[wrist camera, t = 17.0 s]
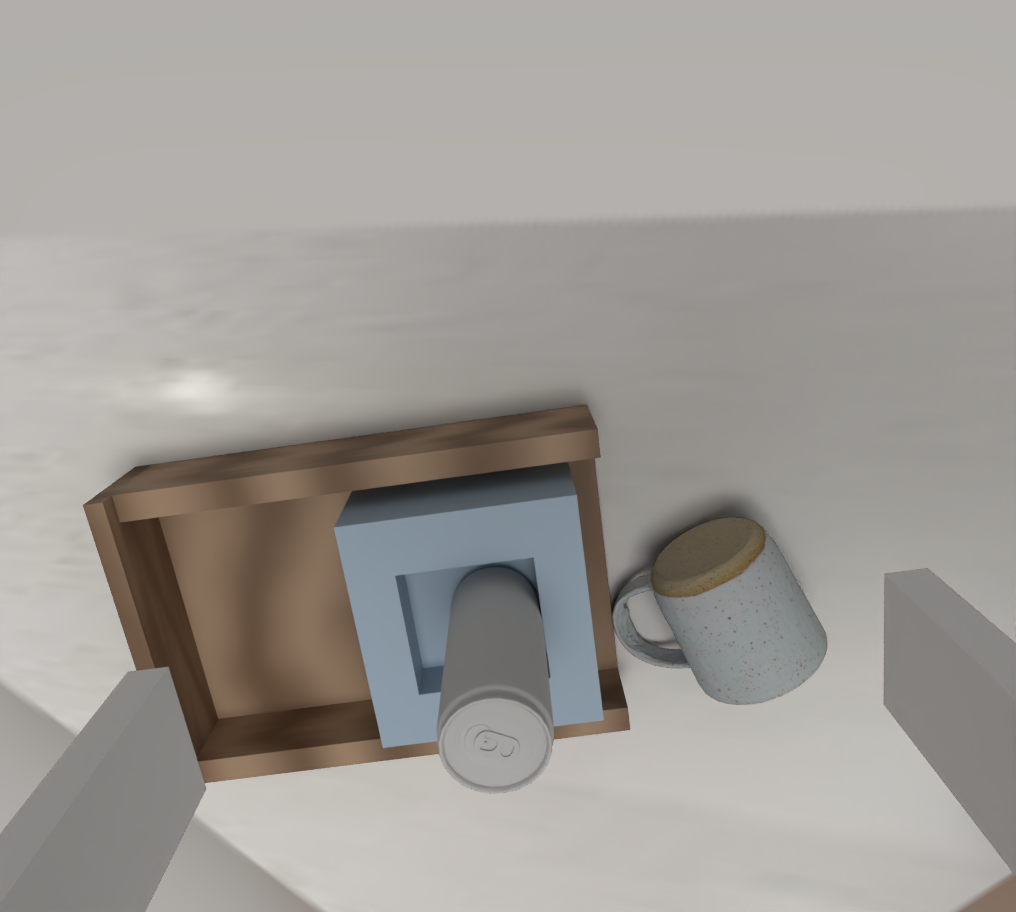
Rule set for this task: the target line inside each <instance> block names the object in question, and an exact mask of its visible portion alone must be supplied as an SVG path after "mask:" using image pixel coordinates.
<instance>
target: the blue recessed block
mask: <svg viewBox="0 0 1016 912" xmlns="http://www.w3.org/2000/svg"><path fill="white" fill-rule="evenodd" d="M334 531H335V536H336V540H337V545H338V549H339V554H340V558H341V563H342V567H343V571H344V576H345V580H346V585H347V589H348V594H349V598H350V603H351V607H352V612H353V616H354V621H355V625H356V630H357V634H358V639H359V643H360V648H361V652H362V657H363V661H364V666H365V670H366V674H367V679H368V683H369V688H370V692H371V697H372V701H373V706H374V710H375V715H376V719H377V724H378V728H379V733H380V737H381V742H382V746H383V748H387V747H395V746H403V745H411V744H419V743H427V742H435V741H437V721H438V712H439V704H440V695H441V687H442V678H443V669H444V661H445V652H446V643H447V635H448V626H449V618H450V609H451V602H452V598H453V594H454V592H455V590H456V589H457V587H458V585H459V584H460V583H461V582H462V581H463V580H464V579H465V578H466V577H467V576H469V575H470V574H472V573H474V572H476V571H478V570H481V569H485V568H488V567H502V568H507V569H511V570H513V571H515V572H517V573H518V574H520V575H522V576H523V577H524V578H525V579H526V580H527V581H528V582H529V583H530V584H531V585H532V587H533V588H534V590H535V591H536V593H537V595H538V598H539V601H540V606H541V614H542V622H543V631H544V639H545V648H546V657H547V667H548V676H549V685H550V695H551V704H552V713H553V722H554V726H562V725H570V724H578V723H586V722H594V721H602V720H604V717H603V709H602V700H601V692H600V684H599V676H598V667H597V659H596V651H595V642H594V634H593V626H592V617H591V609H590V601H589V592H588V584H587V576H586V567H585V559H584V551H583V543H582V534H581V526H580V518H579V509H578V501H577V494H576V490H575V486H574V483H573V479H572V475H571V472H570V468H569V464H568V462H562V463H555V464H547V465H540V466H533V467H525V468H518V469H511V470H503V471H496V472H488V473H481V474H474V475H466V476H459V477H452V478H444V479H437V480H430V481H422V482H415V483H407V484H400V485H393V486H385V487H378V488H371V489H363V490H356V491H352V492H351V494H350V496H349V498H348V500H347V502H346V504H345V506H344V508H343V510H342V512H341V514H340V516H339V518H338V520H337V522H336V524H335V526H334Z"/></svg>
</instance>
